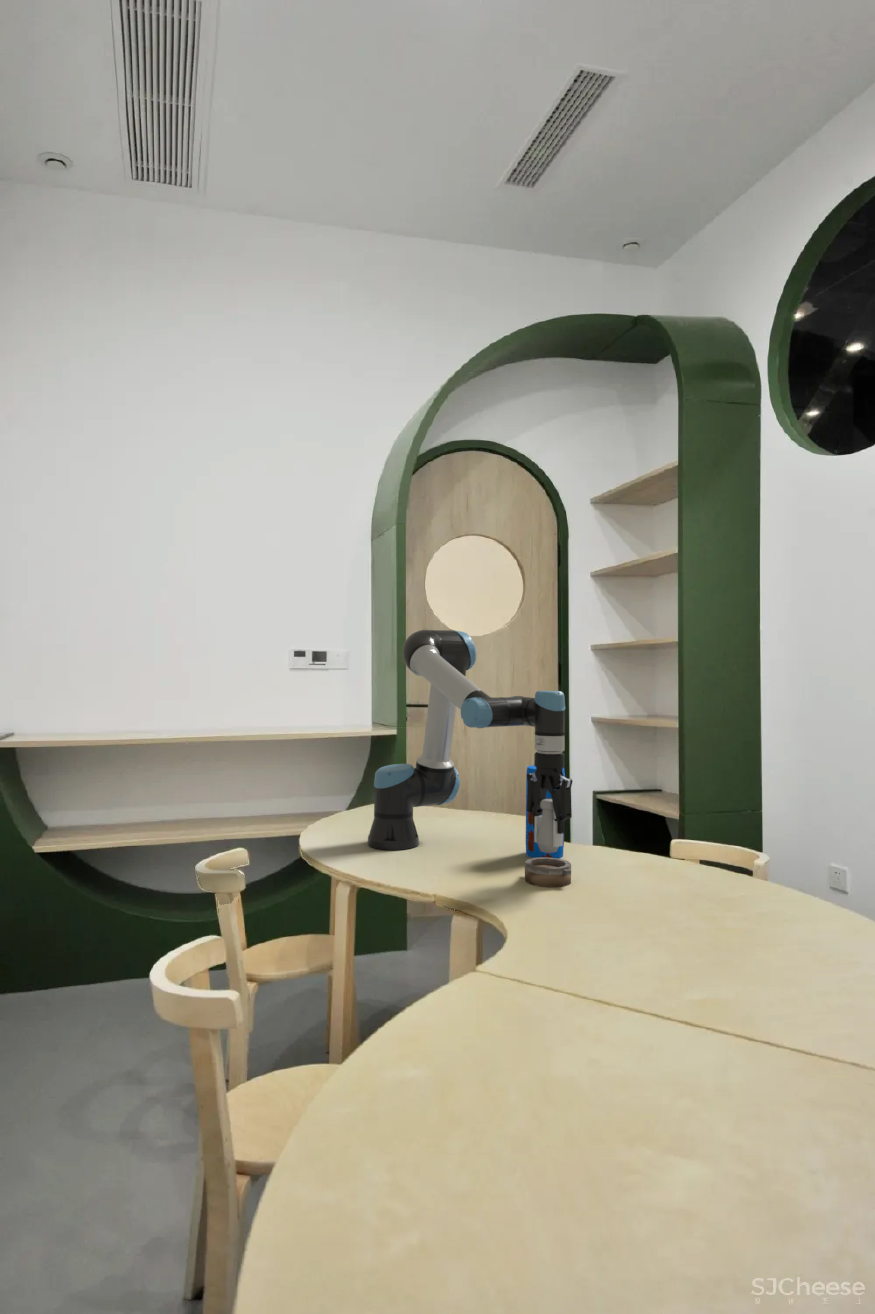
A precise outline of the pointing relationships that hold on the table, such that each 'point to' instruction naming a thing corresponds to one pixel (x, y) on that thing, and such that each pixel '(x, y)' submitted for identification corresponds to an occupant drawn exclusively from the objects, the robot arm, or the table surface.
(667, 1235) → the table surface
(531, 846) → the thermos
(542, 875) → the brown bowl with handles
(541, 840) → the salt shaker
